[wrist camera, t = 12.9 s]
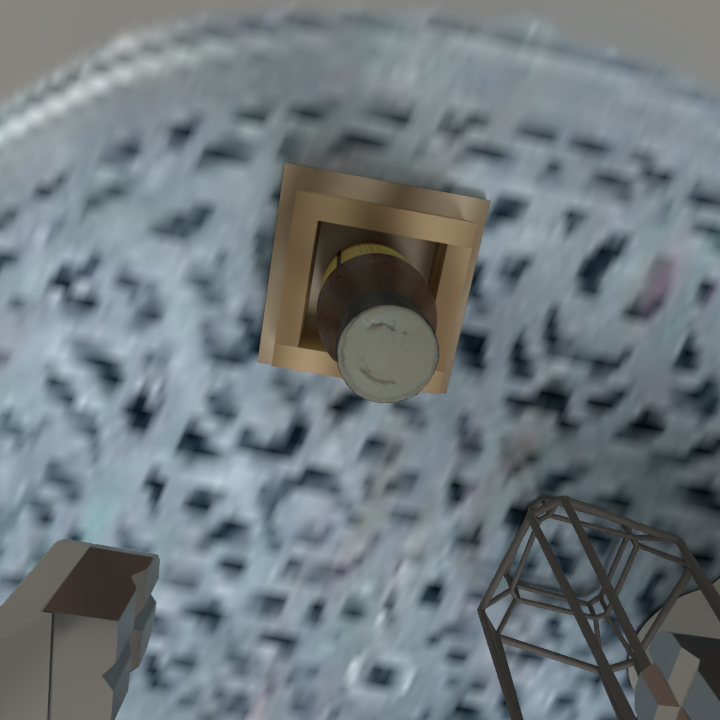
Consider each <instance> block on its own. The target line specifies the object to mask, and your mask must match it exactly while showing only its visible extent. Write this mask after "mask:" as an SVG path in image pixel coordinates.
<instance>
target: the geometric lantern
mask: <svg viewBox="0 0 720 720" xmlns="http://www.w3.org/2000/svg"><path fill="white" fill-rule="evenodd" d="M546 502H547V503H546ZM541 503H542V506H540V507H538V508H536V507H537V506H538V505H540V504H541ZM558 506H561V507H564V508H565V510H566V512H567V514H568V516H569V518H568V517H564V516H560V515H556V514H553V513H554V512H555V510H556V509H557V507H558ZM534 508H536V509H534ZM574 510H576V511H580V512H584V513H588V514H591V515H595V516H599V517H602V518H605V519H608V520H611V521H614V522H617V523H619V524H620V525H621V526H622V527H623V529H624V530H625V532H626V533H625V532H621V531H618V530H614V529H610V528H606V527H602V526H598V525H594V524H591V523H587V522H583V521H579V519H578V517H577V515H576V513H575V511H574ZM545 512H546V514H544V515H542V516H540V517H538V516H539V515H541V514H543V513H545ZM548 518H552V519H556V520H560V521H564V522H567V523H571V524H572V525H573V527H574V529H575V531H576V533H577V535H578V537H579V539H580V541H581V543H582V545H583V548H584V550H585V552H586V554H587V556H588V558H589V560H590V562H591V564H592V566H593V568H594V571H595V573H596V575H597V577H598V579H599V581H600V583H601V585H602V589H601V591H600V593H599V595H598V596H596V597H595V598H593V599H591V600H590V601H588V602H586V601H582V600H579V599H576V597H575V595H574V593H573V591H572V589H571V587H570V585H569V583H568V581H567V579H566V577H565V575H564V573H563V571H562V569H561V567H560V565H559V563H558V561H557V559H556V557H555V555H554V553H553V551H552V549H551V547H550V545H549V543H548V541H547V539H546V537H545V536H544V534H543V532H542V530H541V528H540V524H541V522H542V521H544V520H546V519H548ZM529 526H531V528H532V533H531V535H530V538H529V540H528V543H527V545H526V548H525V550H524V553H523V555H522V558H521V561H520V563H519V566H518V568H517V571H516V573H515V576H514V578H513V579H512V578H511V577H510V576H509V575H508V573H509V571H510V568H511V566H512V563H513V560H514V558H515V555H516V553H517V550H518V547H519V545H520V543H521V541H522V539H523V537H524V535H525V533H526V532H527V530H528V528H529ZM582 526H583V527H587V528H591V529H594V530H598V531H602V532H606V533H610V534H614V535H618V536H621V537H624V538H623V540H622V543H621V545H620V547H619V550H618V552H617V554H616V557H615V559H614V561H613V564H612V566H611V568H610V570H609V573H608V575H606V573H605V571H604V569H603V567H602V565H601V563H600V561H599V559H598V557H597V555H596V553H595V551H594V549H593V547H592V545H591V543H590V541H589V539H588V537H587V535H586V533H585V531H584V529H583V527H582ZM631 528H633V529H636V530H639V531H642V532H644V533H647V534H650V535H653V536H650V535H635V534H633V533H632V532H631V531H632V529H631ZM535 537H537V539H538V541H539V543H540V545H541V547H542V550H543V552H544V554H545V556H546V558H547V560H548V562H549V564H550V566H551V568H552V570H553V573H554V575H555V577H556V579H557V581H558V583H559V585H560V587H561V589H562V591H563V593H564V595H565V596H564V595H560V594H556V593H552V592H548V591H545V590H541V589H537V588H533V587H529V586H526V585H522V584H518V583H517V581H518V579H519V576H520V574H521V571H522V569H523V566H524V564H525V561H526V559H527V556H528V554H529V551H530V549H531V546H532V544H533V541H534V539H535ZM629 539H630V540H631V542H632V544H633V545H634V547H633V549H632V552H631V554H630V556H629V558H628V561H627V563H626V565H625V568H624V570H623V572H622V574H621V577H620V579H619V581H618V584H617V586H616V588H615V590H614V589H613V587H612V585H611V583H610V581H611V579H612V576H613V574H614V572H615V569H616V567H617V565H618V563H619V560H620V558H621V556H622V553H623V551H624V549H625V546H626V544H627V542H628V540H629ZM638 540H649V541H667V542H672V543H675V544H677V546H678V548H679V549H680V551H681V553H682V555H683V557H684V559H685V560H683V559H680V558H677V557H675V556H672V555H669V554H667V553H664V552H662V551H659V550H656V549H654V548H651V547H648V546H646V545H643V544H641V543H639V542H638ZM639 548H640V549H643V550H645V551H648V552H651V553H653V554H656V555H658V556H661V557H663V558H666V559H669V560H671V561H674V562H676V563H679V564H682V565H684V566H687V568H686V570H685V571H684V573H683V575H682V576H681V578H680V580H679V581H678V583H677V585H676V586H675V588H674V589H673V591H672V593H671V594H670V596H669V598H668V599H667V601H666V603H665V604H664V606H663V607H662V609H661V611H660V612H659V614H658V616H657V617H656V619H655V621H654V622H653V624H652V625H651V627H650V629H649V630H648V632H647V634H646V635H645V637H644V639H643V640H642V642H640V640H639V638H638V636H637V634H636V632H635V630H634V628H633V626H632V624H631V622H630V620H629V618H628V616H627V614H626V612H625V610H624V609H623V607H622V605H621V603H620V601H619V599H618V594H619V592H620V590H621V588H622V585H623V583H624V581H625V578H626V576H627V574H628V572H629V569H630V567H631V565H632V563H633V560H634V558H635V556H636V553H637V551H638V549H639ZM503 575H504V577H505V578H506V580H507V583H508V586H509V588H508V589H507V590H505V591H504V592H502V593H500V594H499V595H497V596H495V597H494V598H492V596H493V594H494V592H495V590H496V588H497V587H498V585H499V583H500V581H501V579H502V577H503ZM691 576H692V577H693V578H694V580H695V582H696V583H697V585H698V587H699V588H700V590H701V592H702V593H703V595H704V597H705V598H706V600H707V602H708V603H709V605H710V607H711V608H712V610H713V612H714V613H715V615H716V617H717V618H718V620H719V622H720V594H719V593H718V592H717V590H716V589H715V587H714V586H713V584H712V583H711V581H710V580H709V578H708V577H707V575H706V574H705V572H704V571H703V569H702V568H701V566H700V565H699V564H698V562H697V561H696V559H695V558H694V556H693V555H692V553H691V552H690V550H689V549H688V547H687V545H686V544H685V542H684V540H683V539H682V538H680V537H677V536H674V535H672V534H669V533H666V532H663V531H661V530H658V529H655V528H652V527H649V526H647V525H644V524H641V523H638V522H636V521H633V520H630V519H627V518H624V517H622V516H619V515H616V514H613V513H611V512H608V511H605V510H602V509H600V508H597V507H594V506H591V505H588V504H586V503H583V502H580V501H577V500H575V499H572V498H569V497H566V496H560V497H557V498H555V499H550V498H546V497H541V498H540V499H538V500H537V501H536V502H534V503H533V504H531V505H530V506H529V507H528V510H527V513H526V515H525V518H524V521H523V523H522V525H521V526H520V528H519V530H518V532H517V534H516V536H515V538H514V540H513V542H512V544H511V546H510V548H509V549H508V551H507V553H506V555H505V557H504V559H503V561H502V563H501V565H500V567H499V569H498V571H497V572H496V574H495V576H494V578H493V580H492V582H491V584H490V586H489V588H488V590H487V592H486V593H485V595H484V597H483V599H482V601H481V603H480V605H479V607H478V609H477V611H478V614H479V618H480V621H481V624H482V627H483V631H484V634H485V637H486V640H487V644H488V647H489V650H490V653H491V657H492V660H493V663H494V666H495V669H496V673H497V676H498V679H499V682H500V685H501V689H502V692H503V695H504V698H505V701H506V705H507V708H508V711H509V714H510V717H511V720H523V717H522V713H521V709H520V706H519V702H518V699H517V695H516V691H515V688H514V684H513V681H512V677H511V674H510V670H509V666H508V663H507V659H506V656H505V652H504V648H503V645H502V643H505V644H508V645H511V646H514V647H517V648H520V649H523V650H526V651H529V652H532V653H536V654H539V655H542V656H545V657H548V658H551V659H554V660H557V661H560V662H563V663H566V664H569V665H572V666H575V667H578V668H582V669H585V670H588V671H591V672H594V673H597V674H599V676H600V678H601V680H602V683H603V685H604V687H605V690H606V692H607V695H608V697H609V699H610V702H611V704H612V706H613V709H614V711H615V713H616V716H617V718H618V720H638V718H637V717H635V715H634V713H633V711H632V709H631V707H630V705H629V703H628V701H627V699H626V697H625V695H624V693H623V691H622V689H621V687H620V685H619V683H618V681H617V679H616V677H615V675H614V673H613V672H616V671H619V670H623V669H626V668H629V667H632V666H634V668H635V670H636V673H637V675H638V678H639V675H640V672H642V671H643V670H644V669H646V668H647V667H648V666H650V665H651V662H650V660H649V658H648V656H647V654H646V652H645V651H646V649H647V648H648V646H649V644H650V643H651V641H652V640H653V638H654V636H655V635H656V633H657V632H658V630H659V628H660V627H661V625H662V623H663V622H664V620H665V619H666V617H667V615H668V614H669V612H670V610H671V609H672V607H673V606H674V604H675V602H676V601H677V599H678V598H679V596H680V594H681V593H682V591H683V589H684V588H685V586H686V585H687V583H688V581H689V580H690V578H691ZM518 588H519V589H523V590H527V591H530V592H534V593H538V594H542V595H546V596H549V597H553V598H557V599H561V600H564V601H567V602H568V604H569V606H570V608H571V610H570V609H566V608H561V607H557V606H553V605H549V604H544V603H540V602H536V601H532V600H527V599H523V598H520V595H519V591H518ZM510 593H511V595H512V597H513V600H512V602H511V604H510V606H509V608H508V610H507V612H506V614H505V616H504V617H503V619H502V621H501V623H500V625H499V627H498V629H497V631H496V630H495V628H494V627H493V625H492V623H491V622H490V620H489V618H488V617H487V615H486V613H485V609H486V608H488V607H489V606H491V605H492V604H494V603H496V602H497V601H499V600H500V599H502V598H503V597H505V596H507V595H508V594H510ZM605 594H606V596H607V598H608V600H609V604H608V607H607V605H606V603H605V601H604V599H603V598H604V595H605ZM491 598H492V599H491ZM598 601H600V603H601V605H602V607H603V609H604V611H605V612H604V613H601V614H598V615H596V614H595V611H594V608H593V606H592V605H593V604H594V603H596V602H598ZM517 602H519V603H523V604H528V605H532V606H536V607H540V608H545V609H549V610H553V611H558V612H562V613H566V614H570V615H574V616H575V618H576V620H577V623H578V625H579V627H580V629H581V631H582V633H583V635H584V637H585V639H586V641H587V643H588V645H589V648H590V650H591V652H592V654H593V656H594V658H595V660H596V662H597V664H598V666H599V667H598V666H595V665H592V664H589V663H586V662H583V661H580V660H577V659H574V658H571V657H568V656H565V655H562V654H559V653H556V652H553V651H550V650H547V649H543V648H540V647H537V646H534V645H531V644H528V643H525V642H522V641H519V640H516V639H513V638H510V637H507V636H504V635H501V632H502V630H503V628H504V626H505V624H506V623H507V621H508V619H509V617H510V615H511V613H512V611H513V609H514V607H515V605H516V603H517ZM579 604H580V605H583V606H588V608H589V611H590V613H591V614H587V613H583V611H582V609H581V607H580V605H579ZM612 608H613V610H614V612H615V614H616V617H617V619H618V621H619V623H620V625H621V627H622V629H623V631H624V633H625V635H626V637H627V640H628V642H629V644H630V646H631V648H632V650H633V651H632V650H631V648H630V646H629V645H628V643H627V642H626V640H625V639H624V637H623V636H622V634H621V633H620V631H619V630H618V628H617V627H616V625H615V624H614V622H613V621H612V619H611V617H610V616H609V615H610V613H611V610H612ZM586 618H587V619H592V620H593V621H594V629H595V635H594V633H593V631H592V629H591V627H590V625H589V623H588V621H587V619H586ZM602 618H606V620H607V621H608V623H609V624H610V626H611V627H612V629H613V631H614V632H615V634H616V635H617V637H618V638H619V640H620V641H621V643H622V644H623V646H624V648H625V649H626V651H627V652H628V654H629V655H630V657H631V658H630V659H628V660H625V661H622V662H618V663H615V664H612V665H609V663H608V661H607V659H606V657H605V655H604V653H603V651H602V648H601V639H600V631H599V623H598V620H599V619H602ZM633 652H634V653H633Z"/></svg>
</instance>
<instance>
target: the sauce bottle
mask: <svg viewBox="0 0 720 720" xmlns="http://www.w3.org/2000/svg"><path fill="white" fill-rule="evenodd" d="M317 324H318V331H319V335H320V339H321V341H322V343H323V345H324V347H325V349H326V351H327V352H328V354H329V355H330V357H331V358H332V359H333V360H334V361H336V362H337V365H338V369H339V372H340V374H341V376H342V379H343V380H344V381H345V383H346V384H347V385H348V386H349V387H350V388H351V389H352V390H353V391H354V392H355V393H356V394H357V395H359V396H361V397H363V398H365V399H367V400H370V401H374V402H378V403H392V402H399V401H402V400H405V399H408V398H410V397H413V396H414V395H416V394H418V393H419V392H420V391H421V390H422V389H423V388H424V387H425V386H426V385H427V384H428V383H429V381H430V380H431V378H432V376H433V375H434V372H435V368H436V366H437V363H438V360H439V345H438V341H437V337H436V329H437V309H436V303H435V300H434V297H433V295H432V293H431V291H430V288H429V287H428V285H427V283H426V281H425V280H424V278H423V277H422V275H421V274H420V273H419V272H418V271H417V270H416V269H415V268H414V267H413V266H412V265H411V264H410V263H409V262H408V261H407V260H406V259H405V258H404V257H403V256H402V255H401V254H400V253H399V252H398V251H397V250H395V249H394V248H392V247H391V246H389V245H386V244H383V243H380V242H375V241H362V242H357V243H354V244H351V245H349V246H347V247H345V248H343V249H342V250H340V251H339V252H338V253H337V254H336V255H335V256H334V257H333V258H332V259H331V261H330V262H329V264H328V265H327V267H326V269H325V272H324V275H323V279H322V283H321V287H320V291H319V295H318V301H317Z"/></svg>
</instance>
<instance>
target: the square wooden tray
mask: <svg viewBox="0 0 720 720" xmlns="http://www.w3.org/2000/svg"><path fill="white" fill-rule="evenodd" d="M489 204H490V200H484V199H479V198H473V197H468V196H463V195H457V194H452V193H446V192H441V191H436V190H430V189H425V188H419V187H414V186H409V185H403V184H398V183H392V182H387V181H382V180H376V179H371V178H365V177H360V176H355V175H349V174H344V173H338V172H333V171H328V170H322V169H317V168H311V167H306V166H301V165H295V164H290V163H285V164H284V171H283V179H282V186H281V194H280V201H279V208H278V216H277V223H276V230H275V238H274V245H273V253H272V260H271V267H270V275H269V282H268V289H267V297H266V304H265V312H264V319H263V326H262V334H261V341H260V348H259V356H258V362H260V363H266V364H272V365H271V366H275V367H281V368H287V369H293V370H299V371H305V372H311V373H317V374H323V375H329V376H335V377H341V378H342V376H341V374H340V372H339V369H338V365H337V362H336V361H334V360H333V359H332V358H331V357H330V355H329V354H328V352H327V351H326V349H325V347H324V345H323V343H322V341H321V339H320V335H319V331H318V324H317V301H318V295H319V291H320V287H321V283H322V279H323V275H324V272H325V269H326V267H327V265H328V264H329V262H330V261H331V259H332V258H333V257H334V256H335V255H336V254H337V253H338V252H339V251H340V250H342V249H343V248H345V247H347V246H349V245H351V244H354V243H357V242H362V241H375V242H380V243H383V244H386V245H389V246H391V247H392V248H394V249H395V250H397V251H398V252H399V253H400V254H401V255H402V256H403V257H404V258H405V259H406V260H407V261H408V262H409V263H410V264H411V265H412V266H413V267H414V268H415V269H416V270H417V271H418V272H419V273H420V274H421V275H422V277H423V278H424V280H425V281H426V283H427V285H428V287H429V288H430V291H431V293H432V295H433V297H434V300H435V303H436V309H437V329H436V337H437V341H438V345H439V360H438V363H437V366H436V368H435V372H434V375H433V376H432V378H431V380H430V381H429V383H428V384H427V385H426V386H425V387H424V388H423V389H422V390H421V391H424V392H430V393H436V394H439V393H444V394H446V392H447V388H448V383H449V379H450V374H451V370H452V366H453V361H454V357H455V353H456V348H457V344H458V340H459V335H460V331H461V326H462V322H463V318H464V313H465V309H466V305H467V300H468V296H469V292H470V287H471V283H472V278H473V274H474V270H475V265H476V261H477V257H478V252H479V248H480V244H481V239H482V235H483V230H484V226H485V222H486V217H487V213H488V209H489Z"/></svg>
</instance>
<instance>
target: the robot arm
mask: <svg viewBox="0 0 720 720" xmlns="http://www.w3.org/2000/svg"><path fill="white" fill-rule="evenodd" d="M159 565H160V559H159V556H158V555H157V554H151V553H145V552H139V551H134V550H128V549H122V548H116V547H110V546H105V545H99V544H95V545H94V544H92V543H86V542H79V541H73V540H66V539H63V540H60V541H57V542H56V543H55V544H54V545H53V546H52V547H51V548H50V550H49V551H48V552H47V553H46V554H45V555H44V557H43V558H42V559H41V560H40V561H39V562H38V564H37V565H36V566H35V567H34V568H33V569H32V571H31V572H30V573H29V574H28V575H27V576H26V578H25V579H24V580H23V581H22V582H21V583H20V585H19V586H18V587H17V588H16V589H15V590H14V592H13V593H12V594H11V595H10V596H9V598H8V599H7V600H6V601H5V602H4V603H3V605H2V606H0V720H115V718H116V716H117V713H118V711H119V709H120V707H121V705H122V703H123V700H124V698H125V696H126V694H127V692H128V685H129V675H130V672H131V671H133V670H135V669H136V668H138V667H139V665H140V663H141V661H142V658H143V656H144V654H145V652H146V649H147V645H148V642H149V639H150V636H151V632H152V628H153V622H154V617H155V609H156V601H155V600H154V598H153V597H152V595H151V593H152V591H153V588H154V586H155V584H156V582H157V580H158V578H159ZM713 586H714V587H715V589H716V590H717V592H718V593H719V594H720V578H719V579H718V580H717V581H716V582H715V583H713ZM660 611H661V609H660V610H659V611H658V612H657V613H655V614H654V615H653V616H652V617H651V618H650V619H649V620H648V621H647V622H646V624H645V625H644V626H643V627H642V629H641V630H640V632H639V633H638V635H637V636H638V638H639V640H640V642H642V640H643V639H644V637H645V635H646V634H647V632H648V630H649V629H650V627H651V625H652V624H653V622H654V621H655V619H656V617H657V616H658V614H659V612H660ZM631 650H632V648H631ZM632 651H633V650H632ZM645 652H646V654H647V656H648V658H649V660H650V662H651V665H650V666H648V667H647V668H646V669H644V670H643V671H642V672H640V675H639V678H638V675H637V673H636V670H635V668H634V666H632V667H629V668H628V672H629V678H630V682H631V685H632V688H633V690H634V692H635V711H636V714H637V718H638V720H720V622H719V620H718V618H717V617H716V615H715V613H714V612H713V610H712V608H711V607H710V605H709V603H708V602H707V600H706V598H705V597H704V595H703V593H702V592H701V590H697V591H694V592H691V593H689V594H686V595H684V596H682V597H680V598H678V599H677V601H676V602H675V604H674V606H673V607H672V609H671V610H670V612H669V614H668V615H667V617H666V619H665V620H664V622H663V623H662V625H661V627H660V628H659V630H658V632H657V633H656V635H655V636H654V638H653V640H652V641H651V643H650V644H649V646H648V648H647V649H646V651H645ZM633 653H634V652H633ZM630 658H631V657H630V655H629V659H630Z"/></svg>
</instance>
